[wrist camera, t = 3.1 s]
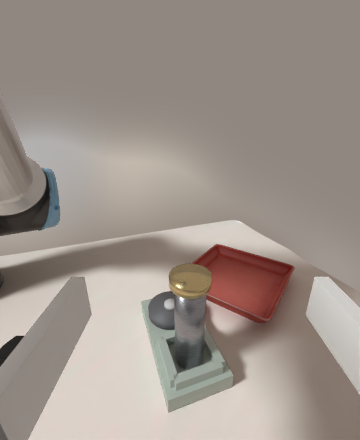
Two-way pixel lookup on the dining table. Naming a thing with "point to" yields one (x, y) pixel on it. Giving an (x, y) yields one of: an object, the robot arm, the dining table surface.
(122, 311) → the dining table surface
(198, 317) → the pin
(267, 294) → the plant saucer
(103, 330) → the dining table surface
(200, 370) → the base
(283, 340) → the dining table surface
